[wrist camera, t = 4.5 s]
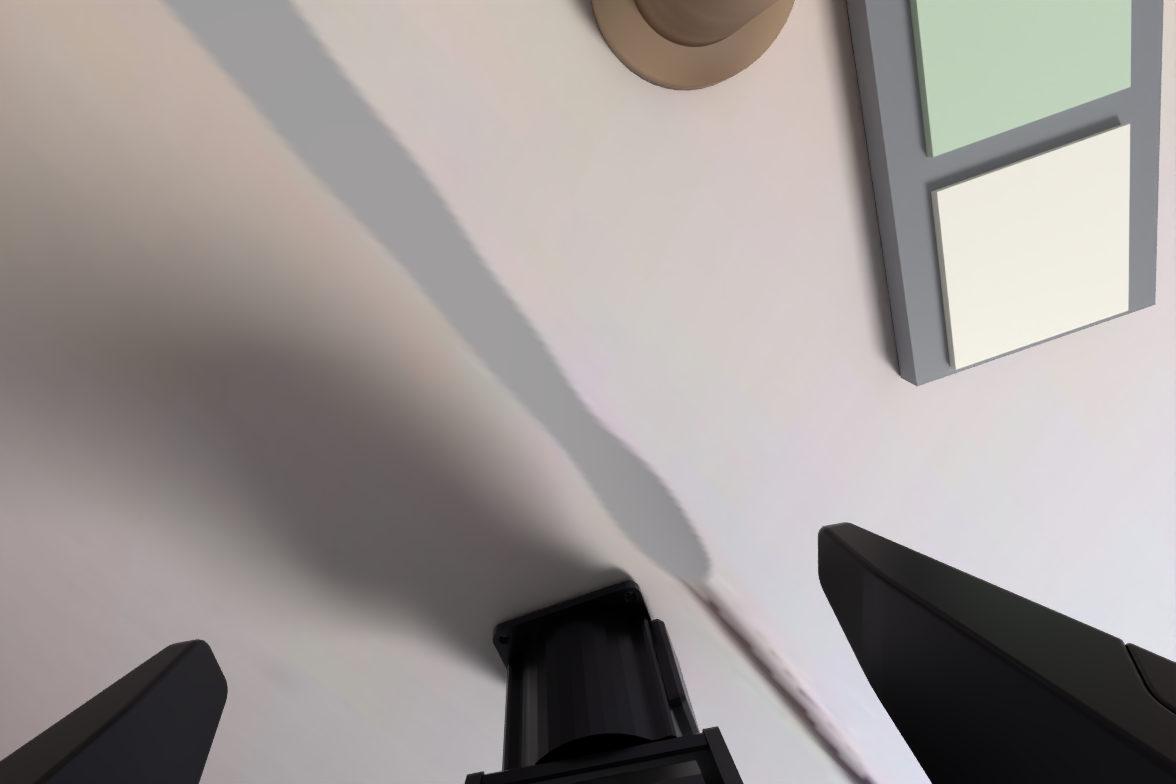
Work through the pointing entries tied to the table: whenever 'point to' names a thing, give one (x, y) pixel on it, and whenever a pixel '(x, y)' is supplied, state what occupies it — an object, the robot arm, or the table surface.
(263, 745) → the table surface
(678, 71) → the brown wooden peg
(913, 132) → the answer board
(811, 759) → the table surface
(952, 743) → the robot arm
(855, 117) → the table surface
